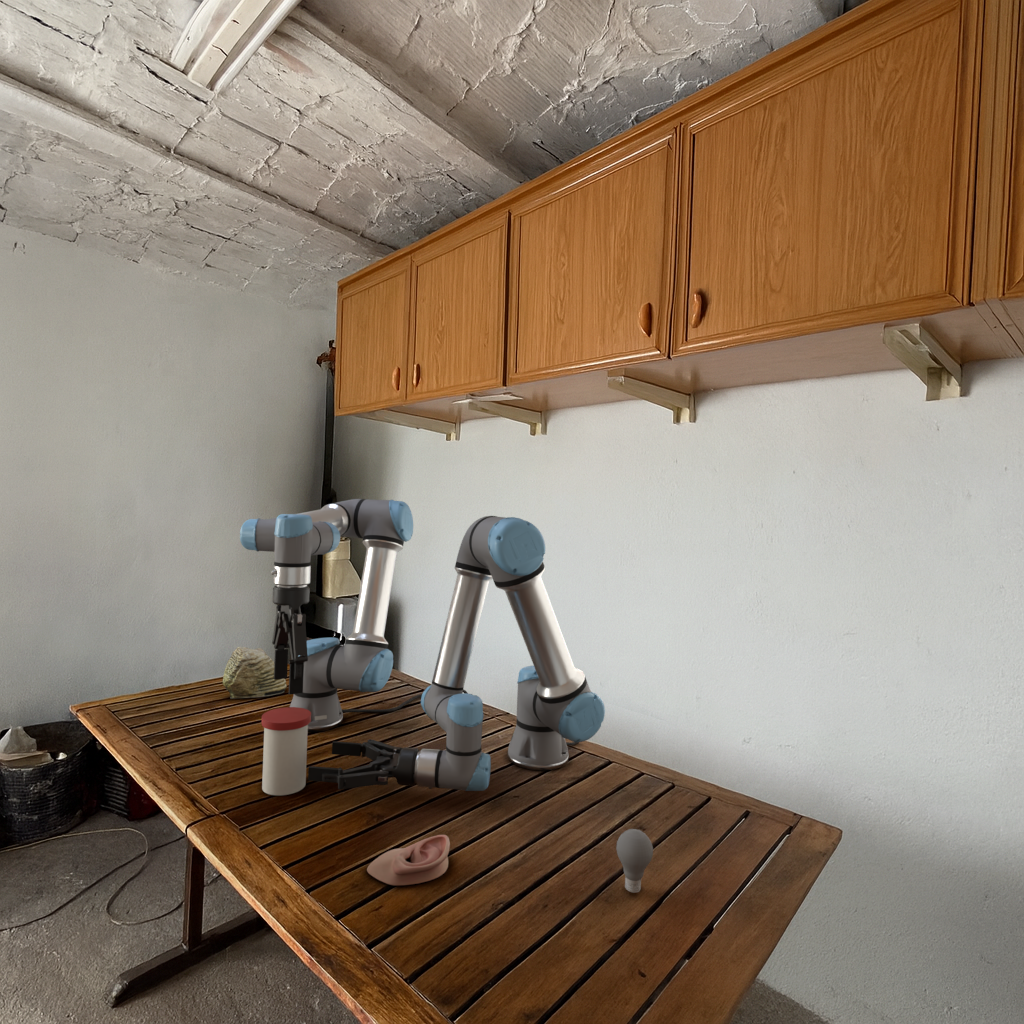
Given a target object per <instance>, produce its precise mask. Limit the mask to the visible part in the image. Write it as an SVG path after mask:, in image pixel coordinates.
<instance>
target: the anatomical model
mask: <svg viewBox="0 0 1024 1024" xmlns="http://www.w3.org/2000/svg"><path fill="white" fill-rule="evenodd" d="M450 849H451V843H450V838H449V836H448V835H446V834H437V835H434V836H430V837H426V838H423V839H421V840H419V841H417V842H415V843H413V844H410V845H408V846H406V847H403V848H402V847H400V848H394V849H390V850H388V851H386V852H384V853H382V854H381V855H379V856H378V857H376V858H375V859H374V860H373V861H371V862H370V864H369V865H368V866H367V868H366V872H367V873H368V874H369V875H370V876H371V877H373V878H374V879H376V880H378V881H379V882H382V883H384V884H386V885H389V886H410V885H415V884H421V883H425V882H430V881H432V880H435V879H437V878H439V877H441V876H443V874H445V873H446V872H447V870H448V868H449V857H448V855H449V853H450Z"/></svg>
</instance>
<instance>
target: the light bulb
mask: <svg viewBox="0 0 1024 1024" xmlns="http://www.w3.org/2000/svg"><path fill="white" fill-rule="evenodd" d="M615 849H616V854H617V857H618V859H619V861H620V863H621V865H622V867H623V873H624V874H623V875H624V876H625V878H624V888H625V890H627V891H628V892H630V893H634V894H635V893H639V892H640V891H641V889H642V887H641V886H642V879H643V877H644V875H645V871H646V868H647V867H648V866H649V864H650V863H651V861H652V859H653V855H654V847H653V843H652V841H651V838H649V836H648V835H647V834H646V833H645V832H643V831H642V830H641V829H636V828H629V829H627V830H625V831H623V832H622V833H621V834H620V835H619V837H618V839H617V841H616V847H615Z"/></svg>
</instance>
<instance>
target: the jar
mask: <svg viewBox="0 0 1024 1024" xmlns="http://www.w3.org/2000/svg"><path fill="white" fill-rule="evenodd" d="M308 734H309V732H308V725H306V726H304V727H302V728H298V729H293V730H285V731H277V730H270V729H266V728H264V727H263V752H262V755H263V756H262V781H261V782H262V783H261V790H262V791H263V792H264V793H265V794H267V795H269V796H270V795H271V796H287V795H292V794H295V793H298V792H300V791H302V790H303V789H304V788H305V787H306V784H307V783H306V782H307V760H308Z"/></svg>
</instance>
